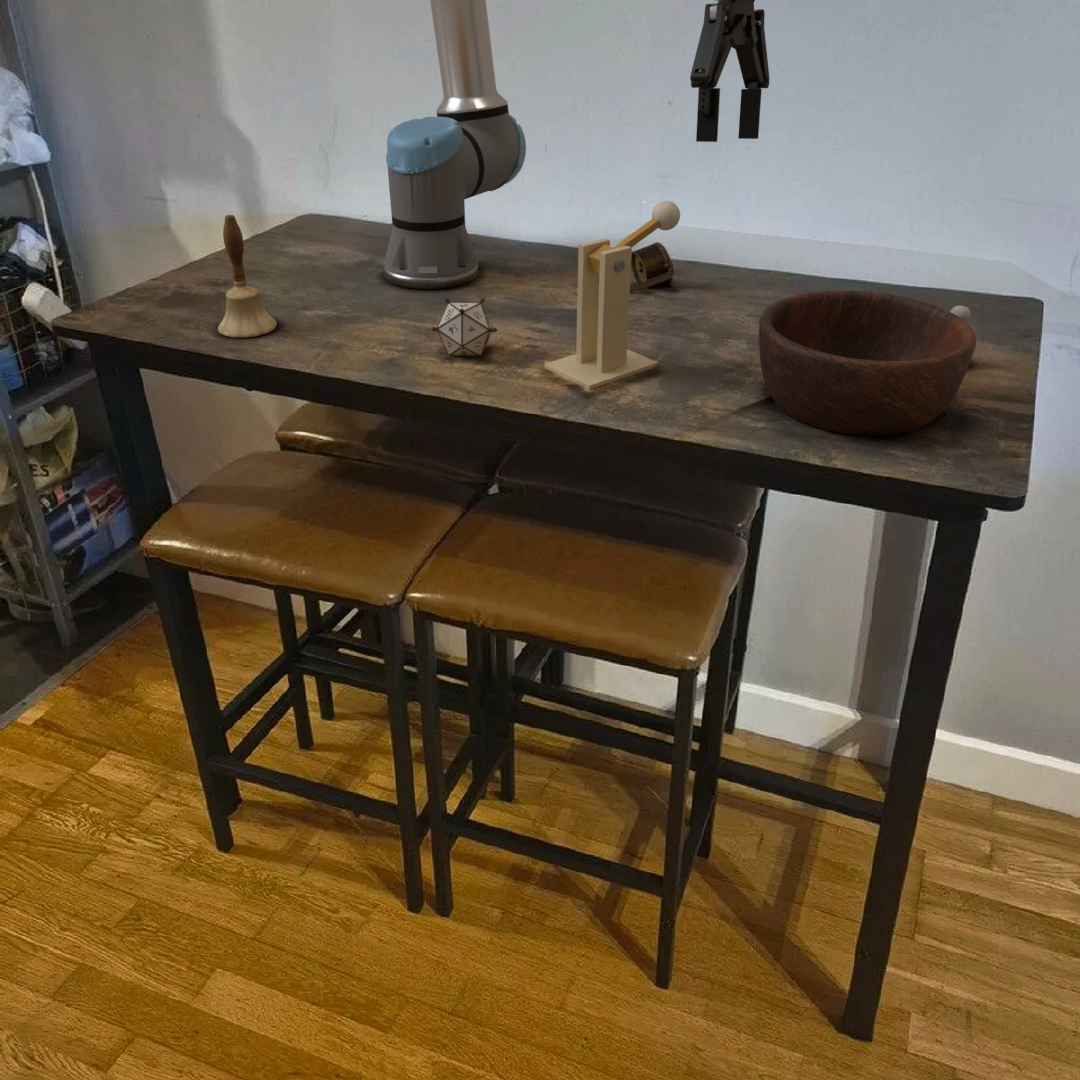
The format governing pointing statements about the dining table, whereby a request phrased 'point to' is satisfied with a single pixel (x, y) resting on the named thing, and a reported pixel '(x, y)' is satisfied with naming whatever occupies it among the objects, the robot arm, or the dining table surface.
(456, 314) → the game die
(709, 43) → the robot arm
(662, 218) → the lever
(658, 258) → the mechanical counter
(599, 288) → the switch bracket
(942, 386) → the wooden bowl
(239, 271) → the hand bell
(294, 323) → the dining table surface
